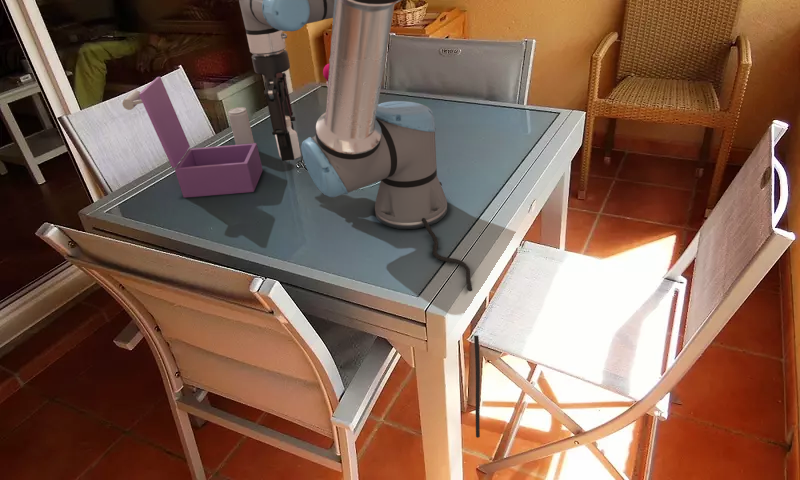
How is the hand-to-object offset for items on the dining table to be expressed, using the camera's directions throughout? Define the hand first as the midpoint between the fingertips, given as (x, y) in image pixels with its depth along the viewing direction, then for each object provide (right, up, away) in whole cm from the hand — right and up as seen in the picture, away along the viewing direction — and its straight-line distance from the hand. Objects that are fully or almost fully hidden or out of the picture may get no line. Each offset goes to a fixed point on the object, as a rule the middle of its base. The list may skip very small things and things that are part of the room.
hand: (289, 154), depth 132 cm
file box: (-18, -6, +8) cm, 20 cm away
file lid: (-28, +7, 0) cm, 29 cm away
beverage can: (-16, +4, +24) cm, 29 cm away
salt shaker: (0, -1, +1) cm, 1 cm away
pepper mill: (+9, +13, +34) cm, 37 cm away
